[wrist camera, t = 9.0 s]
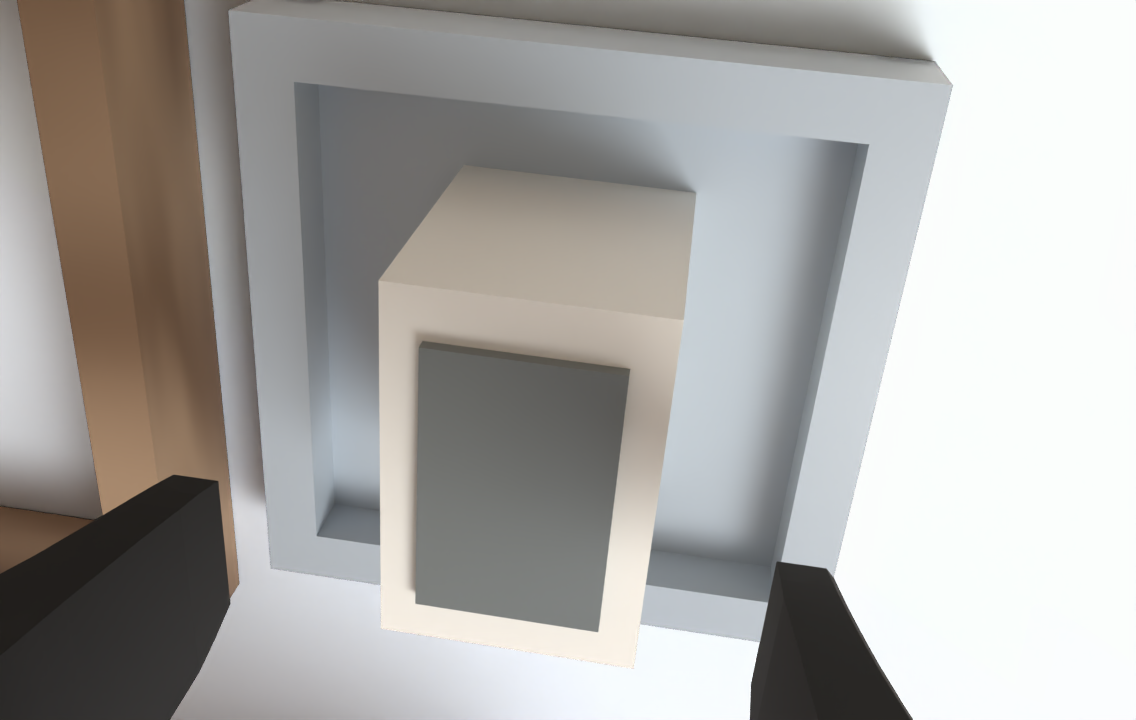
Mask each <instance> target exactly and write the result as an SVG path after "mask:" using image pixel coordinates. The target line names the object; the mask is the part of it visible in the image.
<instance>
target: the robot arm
mask: <svg viewBox="0 0 1136 720" xmlns="http://www.w3.org/2000/svg"><path fill="white" fill-rule="evenodd" d="M229 606H230V595H229V584H228V574H227V564H226V554H225V544H224V533H223V523H222V513H221V503H220V493H219V483H218V481H216V480H209V479H202V478H195V477H188V476H181V475H172V476H170V477H168V478H166V479H164V480H162V481H160V482H159V483H157V484H155V485H153V486H151V487H150V488H148V489H146V490H144V491H143V492H141V493H139V494H138V495H136V496H134V497H133V498H131V499H129V500H127V501H126V502H124V503H122V504H121V505H119V506H117V507H116V508H114V509H112V510H111V511H109V512H107V513H106V514H104V515H102V516H101V517H99V518H97V519H96V520H94V521H92V522H91V523H89V524H87V525H86V526H84V527H82V528H80V529H79V530H77V531H75V532H74V533H72V534H70V535H69V536H67V537H65V538H63V539H62V540H60V541H58V542H57V543H55V544H53V545H51V546H50V547H48V548H46V549H45V550H43V551H41V552H39V553H38V554H36V555H34V556H32V557H31V558H29V559H27V560H25V561H23V562H21V563H19V564H17V565H16V566H14V567H12V568H10V569H8V570H6V571H4V572H3V573H1V574H0V720H170V719H171V717H172V715H173V714H174V712H175V711H176V709H177V707H178V706H179V704H180V703H181V701H182V699H183V698H184V696H185V694H186V693H187V691H188V690H189V688H190V686H191V685H192V683H193V681H194V680H195V678H196V676H197V675H198V673H199V671H200V669H201V667H202V665H203V663H204V661H205V659H206V657H207V655H208V653H209V650H210V648H211V646H212V644H213V642H214V640H215V638H216V635H217V633H218V631H219V628H220V626H221V624H222V622H223V619H224V617H225V615H226V612H227V610H228V608H229ZM750 720H913V719H912V717H911V716H910V714H909V713H908V711H907V710H906V708H905V706H904V705H903V703H902V702H901V700H900V698H899V697H898V695H897V693H896V692H895V690H894V689H893V687H892V685H891V684H890V682H889V680H888V679H887V677H886V675H885V674H884V672H883V671H882V669H881V667H880V666H879V664H878V662H877V660H876V659H875V657H874V655H873V653H872V652H871V650H870V648H869V646H868V644H867V643H866V641H865V639H864V637H863V635H862V633H861V632H860V630H859V628H858V626H857V624H856V622H855V620H854V618H853V616H852V614H851V613H850V611H849V609H848V607H847V605H846V603H845V601H844V599H843V596H842V594H841V592H840V590H839V588H838V586H837V584H836V582H835V580H834V577H833V576H832V575H831V574H830V572H829V571H828V570H827V568H820V567H813V566H806V565H800V564H793V563H786V562H779V561H777V562H776V567H775V572H774V576H773V581H772V586H771V591H770V596H769V601H768V605H767V610H766V615H765V620H764V625H763V630H762V634H761V639H760V644H759V649H758V654H757V658H756V663H755V668H754V673H753V678H752V683H751V705H750Z"/></svg>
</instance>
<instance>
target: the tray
mask: <svg viewBox="0 0 1136 720" xmlns="http://www.w3.org/2000/svg"><path fill="white" fill-rule="evenodd" d="M228 15H229V28H230V41H231V54H232V67H233V80H234V93H235V106H236V119H237V132H238V146H239V159H240V172H241V185H242V198H243V211H244V224H245V237H246V250H247V263H248V276H249V289H250V302H251V315H252V328H253V341H254V355H255V368H256V381H257V394H258V407H259V420H260V433H261V446H262V459H263V472H264V485H265V498H266V511H267V524H268V537H269V550H270V563H271V569H278V570H284V571H291V572H297V573H304V574H311V575H317V576H324V577H331V578H337V579H344V580H351V581H357V582H364V583H370V584H377V585H381V565H380V425H379V286H378V280H379V279H380V278H381V276H382V275H383V274H384V272H385V271H386V270H387V268H388V267H389V266H390V264H391V263H392V262H393V260H394V259H395V257H396V256H397V255H398V253H399V252H400V251H401V249H402V248H403V247H404V245H405V244H406V243H407V241H408V240H409V239H410V237H411V236H412V234H413V233H414V232H415V230H416V229H417V228H418V226H419V225H420V224H421V222H422V221H423V220H424V218H425V217H426V216H427V214H428V213H429V211H430V210H431V209H432V207H433V206H434V205H435V203H436V202H437V201H438V199H439V198H440V197H441V195H442V194H443V193H444V191H445V190H446V188H447V187H448V186H449V184H450V183H451V182H452V180H453V179H454V178H455V176H456V175H457V174H458V172H459V171H460V169H461V168H462V167H463V165H469V166H477V167H485V168H494V169H502V170H510V171H519V172H527V173H535V174H544V175H552V176H560V177H569V178H577V179H585V180H593V181H602V182H610V183H618V184H627V185H635V186H643V187H652V188H660V189H668V190H677V191H685V192H693V193H696V203H695V213H694V223H693V233H692V243H691V253H690V263H689V273H688V283H687V293H686V303H685V313H684V322H683V329H682V336H681V343H680V350H679V357H678V364H677V371H676V378H675V385H674V392H673V399H672V406H671V413H670V419H669V426H668V433H667V440H666V447H665V454H664V461H663V468H662V475H661V482H660V489H659V496H658V503H657V510H656V517H655V523H654V530H653V537H652V544H651V551H650V558H649V565H648V572H647V579H646V586H645V593H644V600H643V607H642V614H641V621H640V624H643V625H649V626H656V627H662V628H669V629H676V630H682V631H689V632H696V633H702V634H709V635H716V636H722V637H729V638H735V639H742V640H749V641H755V642H760V639H761V634H762V630H763V625H764V620H765V615H766V610H767V605H768V601H769V596H770V591H771V586H772V581H773V576H774V572H775V567H776V562H777V561H779V562H786V563H793V564H800V565H806V566H813V567H820V568H827V570H828V571H829V572H830V574H831V575H832V576H833V577H834V574H835V569H836V565H837V561H838V557H839V553H840V549H841V545H842V541H843V536H844V532H845V528H846V524H847V520H848V516H849V512H850V508H851V503H852V499H853V495H854V491H855V487H856V483H857V479H858V475H859V470H860V466H861V462H862V458H863V454H864V450H865V446H866V442H867V437H868V433H869V429H870V425H871V421H872V417H873V413H874V409H875V404H876V400H877V396H878V392H879V388H880V384H881V380H882V376H883V372H884V367H885V363H886V359H887V355H888V351H889V347H890V343H891V339H892V334H893V330H894V326H895V322H896V318H897V314H898V310H899V306H900V301H901V297H902V293H903V289H904V285H905V281H906V277H907V273H908V268H909V264H910V260H911V256H912V252H913V248H914V244H915V240H916V235H917V231H918V227H919V223H920V219H921V215H922V211H923V207H924V202H925V198H926V194H927V190H928V186H929V182H930V178H931V174H932V169H933V165H934V161H935V157H936V153H937V149H938V145H939V141H940V136H941V132H942V128H943V124H944V120H945V116H946V112H947V108H948V103H949V99H950V95H951V91H952V87H953V85H952V83H951V82H950V81H949V79H948V78H947V77H946V75H945V74H944V73H943V71H942V70H941V69H940V67H939V66H938V65H937V63H936V62H935V61H925V60H916V59H906V58H896V57H886V56H876V55H866V54H857V53H847V52H837V51H827V50H817V49H807V48H798V47H788V46H778V45H768V44H758V43H748V42H739V41H729V40H719V39H709V38H699V37H689V36H680V35H670V34H660V33H650V32H640V31H630V30H621V29H611V28H601V27H591V26H581V25H571V24H562V23H552V22H542V21H532V20H522V19H512V18H503V17H493V16H483V15H473V14H463V13H453V12H444V11H434V10H424V9H414V8H404V7H394V6H385V5H375V4H365V3H355V2H345V1H335V0H251V1H249V2H247V3H244V4H242V5H240V6H237V7H235V8H232V9H230V10H228Z"/></svg>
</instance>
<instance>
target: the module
mask: <svg viewBox="0 0 1136 720" xmlns="http://www.w3.org/2000/svg"><path fill="white" fill-rule="evenodd" d="M695 203H696V193H693V192H685V191H677V190H668V189H660V188H652V187H643V186H635V185H627V184H618V183H610V182H602V181H593V180H585V179H577V178H569V177H560V176H552V175H544V174H535V173H527V172H519V171H510V170H502V169H494V168H485V167H477V166H469V165H463V167H462V168H461V169H460V171H459V172H458V174H457V175H456V176H455V178H454V179H453V180H452V182H451V183H450V184H449V186H448V187H447V188H446V190H445V191H444V193H443V194H442V195H441V197H440V198H439V199H438V201H437V202H436V203H435V205H434V206H433V207H432V209H431V210H430V211H429V213H428V214H427V216H426V217H425V218H424V220H423V221H422V222H421V224H420V225H419V226H418V228H417V229H416V230H415V232H414V233H413V234H412V236H411V237H410V239H409V240H408V241H407V243H406V244H405V245H404V247H403V248H402V249H401V251H400V252H399V253H398V255H397V256H396V257H395V259H394V260H393V262H392V263H391V264H390V266H389V267H388V268H387V270H386V271H385V272H384V274H383V275H382V276H381V278H380V279H379V280H378V286H379V425H380V565H381V629H386V630H393V631H399V632H405V633H411V634H418V635H424V636H430V637H437V638H443V639H449V640H455V641H462V642H468V643H474V644H481V645H487V646H493V647H499V648H506V649H512V650H518V651H525V652H531V653H537V654H543V655H550V656H556V657H562V658H569V659H575V660H581V661H587V662H594V663H600V664H606V665H613V666H619V667H625V668H631V669H634V662H635V655H636V648H637V641H638V634H639V627H640V621H641V614H642V607H643V600H644V593H645V586H646V579H647V572H648V565H649V558H650V551H651V544H652V537H653V530H654V523H655V517H656V510H657V503H658V496H659V489H660V482H661V475H662V468H663V461H664V454H665V447H666V440H667V433H668V426H669V419H670V413H671V406H672V399H673V392H674V385H675V378H676V371H677V364H678V357H679V350H680V343H681V336H682V329H683V322H684V313H685V303H686V293H687V283H688V273H689V263H690V253H691V243H692V233H693V223H694V213H695Z"/></svg>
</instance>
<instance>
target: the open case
mask: <svg viewBox="0 0 1136 720" xmlns="http://www.w3.org/2000/svg"><path fill="white" fill-rule="evenodd" d="M17 3H18V9H19V15H20V21H21V27H22V33H23V39H24V45H25V51H26V57H27V63H28V69H29V75H30V81H31V87H32V93H33V99H34V105H35V111H36V117H37V123H38V129H39V135H40V141H41V147H42V153H43V159H44V165H45V171H46V177H47V183H48V190H49V196H50V202H51V208H52V214H53V220H54V226H55V232H56V238H57V244H58V250H59V256H60V262H61V268H62V274H63V280H64V286H65V292H66V298H67V304H68V310H69V316H70V322H71V328H72V334H73V340H74V346H75V352H76V358H77V364H78V370H79V376H80V382H81V388H82V394H83V400H84V406H85V412H86V418H87V424H88V430H89V436H90V442H91V448H92V454H93V460H94V466H95V472H96V478H97V484H98V490H99V496H100V502H101V508H102V514H103V515H104V514H106V513H107V512H109V511H111V510H112V509H114V508H116V507H117V506H119V505H121V504H122V503H124V502H126V501H127V500H129V499H131V498H133V497H134V496H136V495H138V494H139V493H141V492H143V491H144V490H146V489H148V488H150V487H151V486H153V485H155V484H157V483H159V482H160V481H162V480H164V479H166V478H168V477H170V476H172V475H181V476H188V477H195V478H202V479H209V480H216V481H218V483H219V493H220V503H221V513H222V523H223V533H224V544H225V554H226V564H227V574H228V584H229V595H230V598H231V596H232V594H233V593H234V591H235V590H236V588H237V586H238V585H239V574H238V564H237V553H236V543H235V532H234V522H233V511H232V501H231V490H230V480H229V469H228V459H227V448H226V438H225V427H224V417H223V406H222V396H221V385H220V375H219V364H218V354H217V343H216V333H215V322H214V312H213V301H212V291H211V280H210V270H209V259H208V249H207V238H206V228H205V217H204V207H203V196H202V186H201V175H200V165H199V154H198V144H197V133H196V123H195V112H194V102H193V91H192V81H191V70H190V60H189V49H188V39H187V28H186V18H185V7H184V0H17ZM92 521H94V520H89V519H82V518H75V517H69V516H62V515H55V514H49V513H42V512H35V511H28V510H22V509H15V508H8V507H1V506H0V574H1V573H3V572H4V571H6V570H8V569H10V568H12V567H14V566H16V565H17V564H19V563H21V562H23V561H25V560H27V559H29V558H31V557H32V556H34V555H36V554H38V553H39V552H41V551H43V550H45V549H46V548H48V547H50V546H51V545H53V544H55V543H57V542H58V541H60V540H62V539H63V538H65V537H67V536H69V535H70V534H72V533H74V532H75V531H77V530H79V529H80V528H82V527H84V526H86V525H87V524H89V523H91V522H92Z"/></svg>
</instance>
